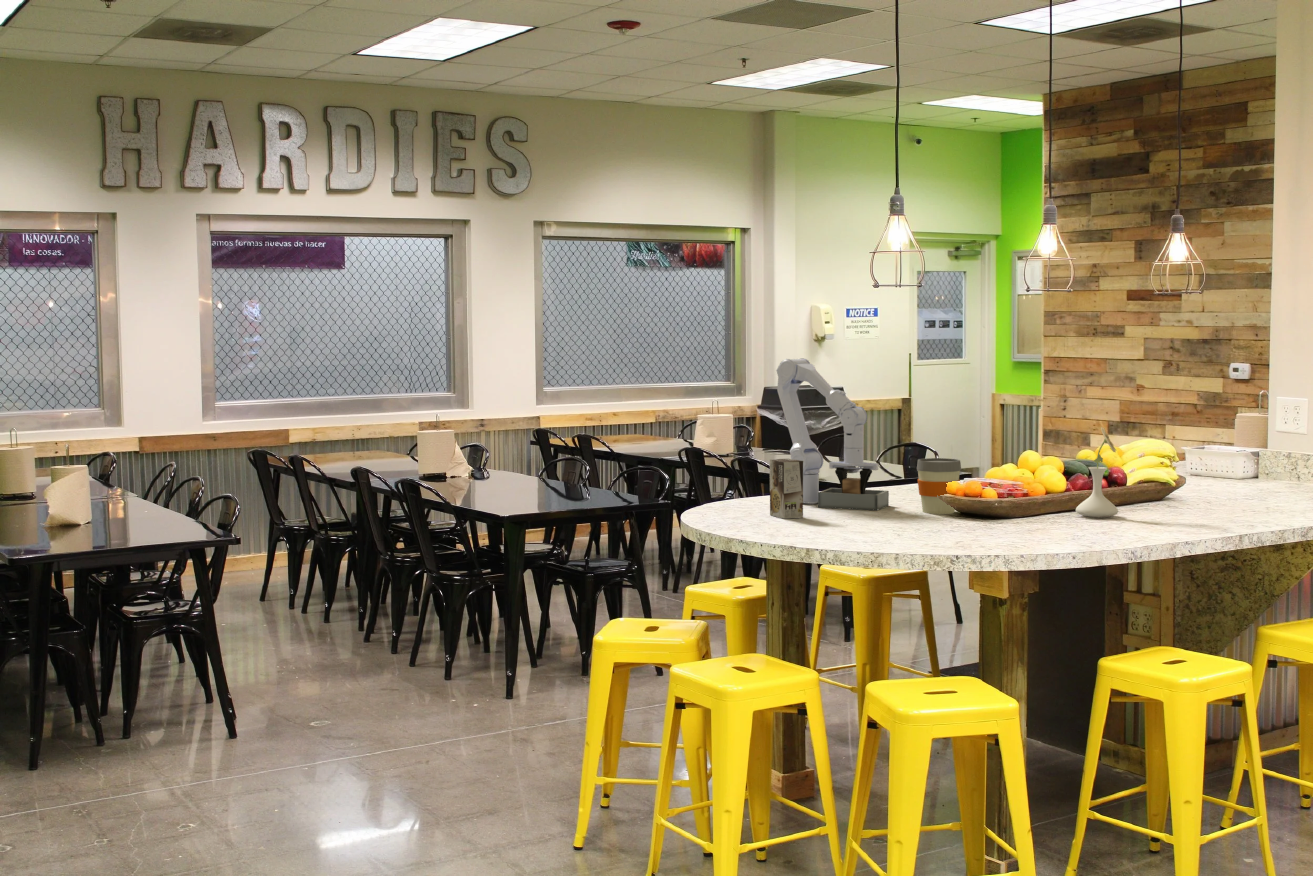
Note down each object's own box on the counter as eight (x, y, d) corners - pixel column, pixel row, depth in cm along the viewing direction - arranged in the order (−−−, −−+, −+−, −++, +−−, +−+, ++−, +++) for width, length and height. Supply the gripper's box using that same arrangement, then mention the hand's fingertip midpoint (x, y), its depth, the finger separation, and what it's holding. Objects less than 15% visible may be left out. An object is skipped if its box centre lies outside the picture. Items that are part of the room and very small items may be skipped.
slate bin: (818, 507, 401) (818, 492, 400) (830, 502, 412) (830, 488, 411) (877, 510, 393) (877, 495, 393) (888, 505, 404) (888, 490, 404)
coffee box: (804, 518, 379) (804, 460, 378) (783, 519, 376) (783, 461, 375) (789, 514, 387) (789, 457, 386) (768, 515, 385) (768, 458, 384)
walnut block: (842, 499, 401) (842, 479, 400) (847, 497, 405) (847, 477, 405) (858, 500, 399) (858, 480, 398) (863, 498, 403) (863, 478, 403)
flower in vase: (1110, 520, 370) (1112, 429, 368) (1069, 517, 376) (1071, 428, 375) (1125, 515, 380) (1127, 426, 378) (1085, 512, 387) (1087, 425, 385)
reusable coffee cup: (964, 514, 383) (965, 462, 382) (920, 515, 383) (920, 462, 382) (955, 509, 396) (956, 458, 394) (912, 509, 396) (913, 458, 395)
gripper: (826, 448, 401) (825, 493, 402) (873, 449, 394) (873, 496, 395) (833, 446, 407) (833, 491, 408) (880, 447, 401) (880, 493, 402)
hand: (853, 493), depth 402 cm, fingers closed on walnut block, 5 cm apart
